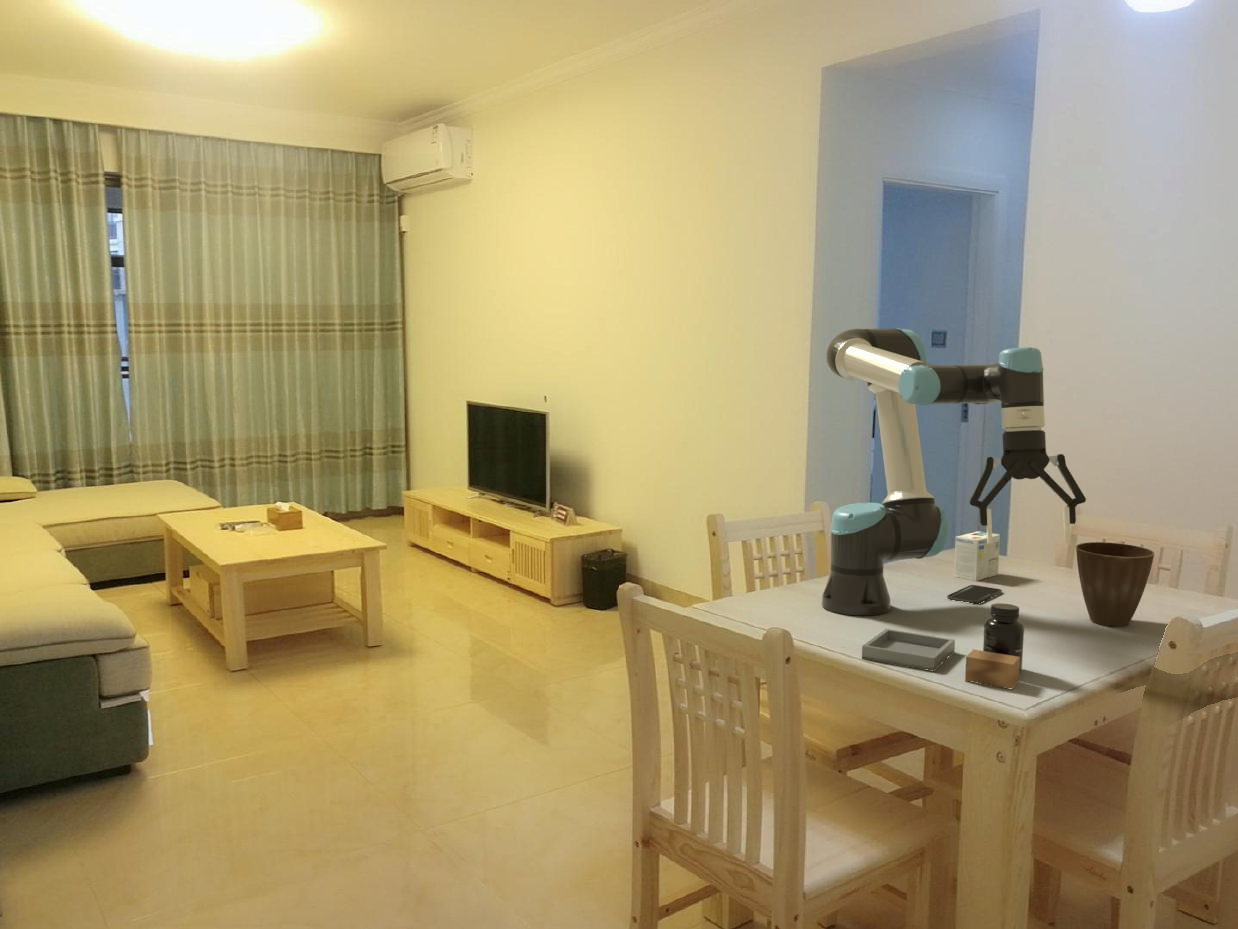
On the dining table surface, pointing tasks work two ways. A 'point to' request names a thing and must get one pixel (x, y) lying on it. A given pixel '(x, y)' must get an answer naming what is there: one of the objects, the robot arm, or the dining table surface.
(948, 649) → the tray
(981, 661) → the block
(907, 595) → the dining table surface
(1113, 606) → the plant pot
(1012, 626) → the supplement bottle
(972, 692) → the dining table surface
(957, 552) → the light bulb box
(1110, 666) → the dining table surface
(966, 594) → the phone
